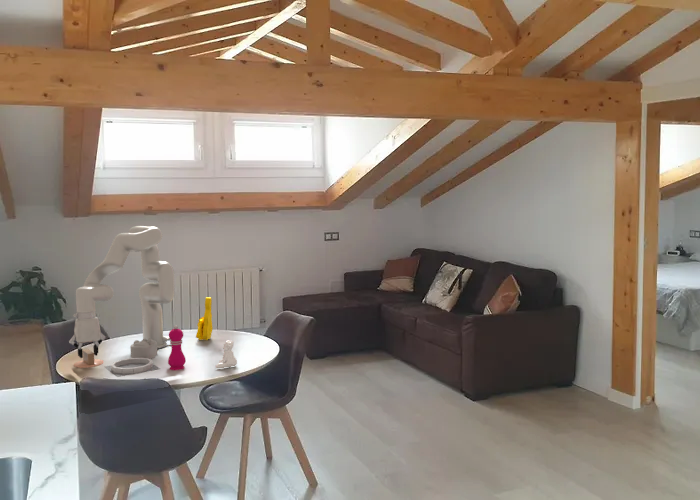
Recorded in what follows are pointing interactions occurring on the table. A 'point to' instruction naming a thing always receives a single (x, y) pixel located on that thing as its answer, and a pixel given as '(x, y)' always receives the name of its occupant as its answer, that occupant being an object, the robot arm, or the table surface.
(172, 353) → the pepper mill
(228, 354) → the seated beast figurine
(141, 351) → the lumpy-topped squat cylinder
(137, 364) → the base plate
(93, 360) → the cover
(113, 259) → the robot arm
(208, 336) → the figure statuette
